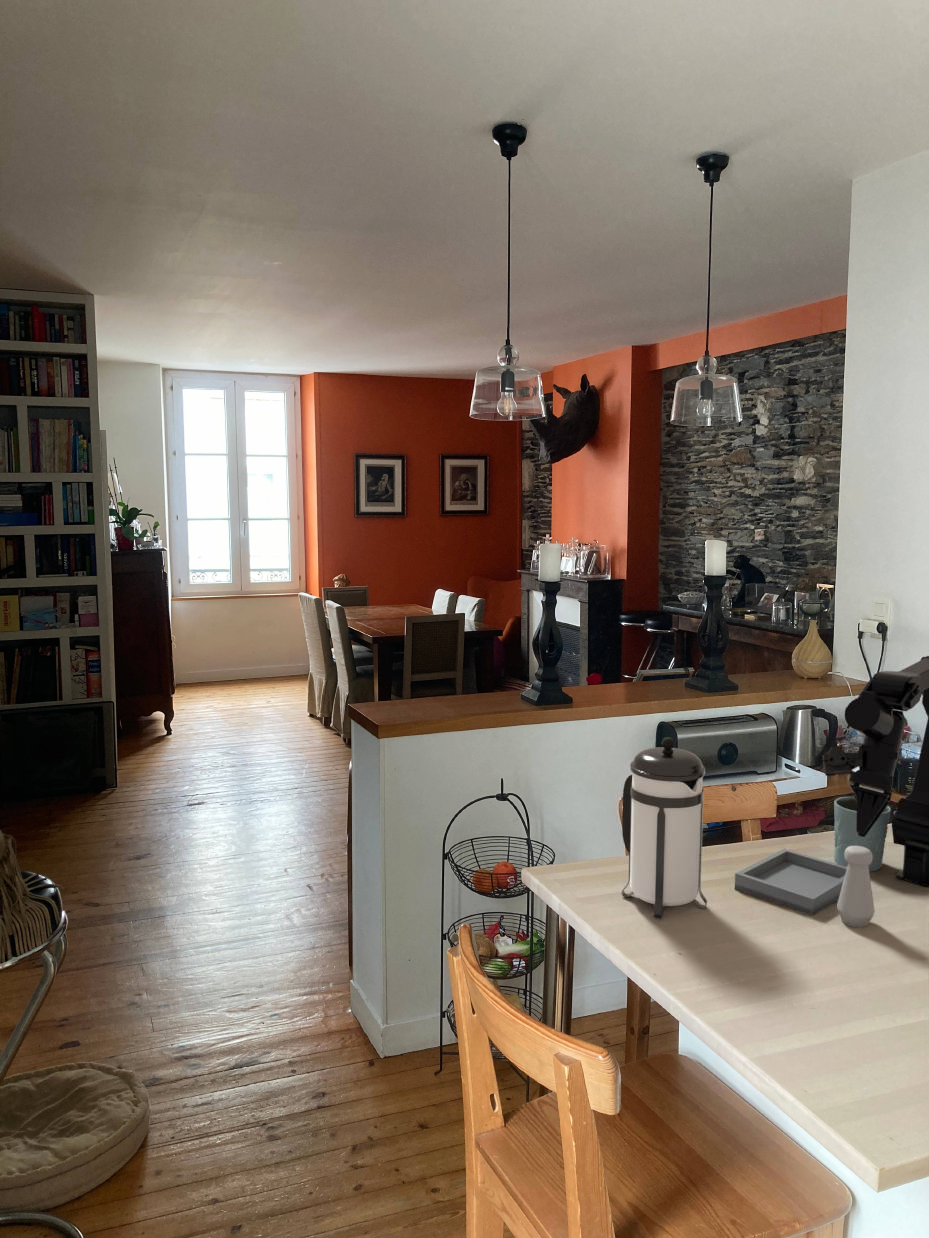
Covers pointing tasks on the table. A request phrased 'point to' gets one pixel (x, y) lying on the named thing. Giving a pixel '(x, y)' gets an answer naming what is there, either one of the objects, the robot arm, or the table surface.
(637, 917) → the table surface
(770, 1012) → the table surface
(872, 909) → the salt shaker
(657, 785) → the coffee press
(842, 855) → the teal cup
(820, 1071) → the table surface
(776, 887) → the tray
